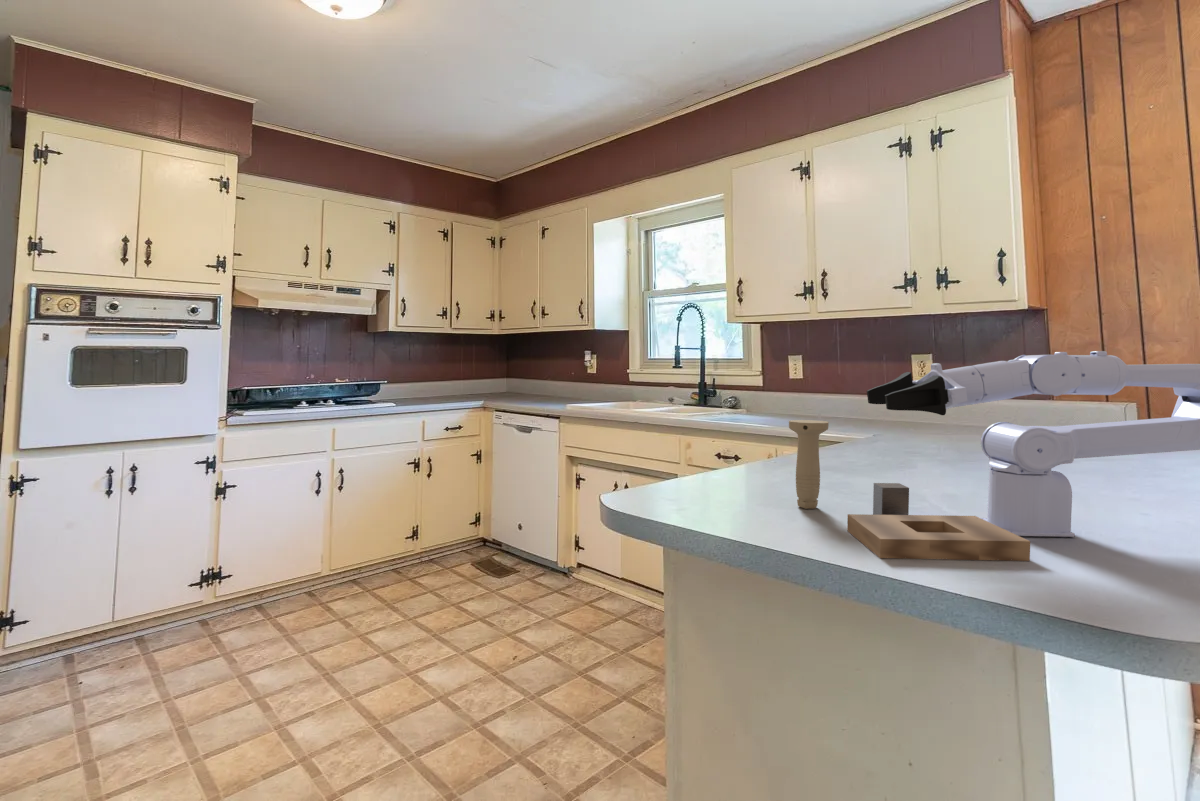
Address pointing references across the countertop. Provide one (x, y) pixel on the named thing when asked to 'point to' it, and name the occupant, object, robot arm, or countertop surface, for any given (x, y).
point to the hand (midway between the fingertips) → (876, 399)
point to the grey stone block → (890, 499)
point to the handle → (808, 460)
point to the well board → (937, 537)
